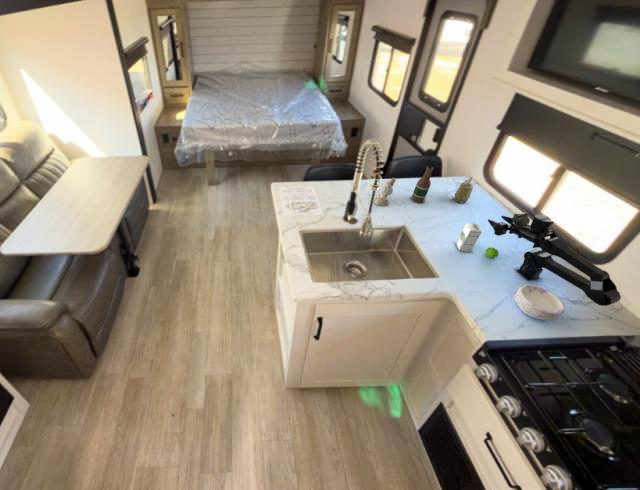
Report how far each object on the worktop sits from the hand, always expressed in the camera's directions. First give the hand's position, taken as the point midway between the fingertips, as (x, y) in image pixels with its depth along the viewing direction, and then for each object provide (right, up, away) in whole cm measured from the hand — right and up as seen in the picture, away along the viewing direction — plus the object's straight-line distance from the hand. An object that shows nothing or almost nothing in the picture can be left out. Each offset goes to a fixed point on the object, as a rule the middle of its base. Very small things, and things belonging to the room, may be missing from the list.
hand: (495, 218), depth 163 cm
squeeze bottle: (+10, +9, +40) cm, 42 cm away
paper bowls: (-5, -39, -25) cm, 47 cm away
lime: (-3, -20, 0) cm, 20 cm away
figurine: (-41, +8, +39) cm, 57 cm away
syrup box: (-13, -16, +5) cm, 21 cm away
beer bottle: (-17, +10, +41) cm, 45 cm away
